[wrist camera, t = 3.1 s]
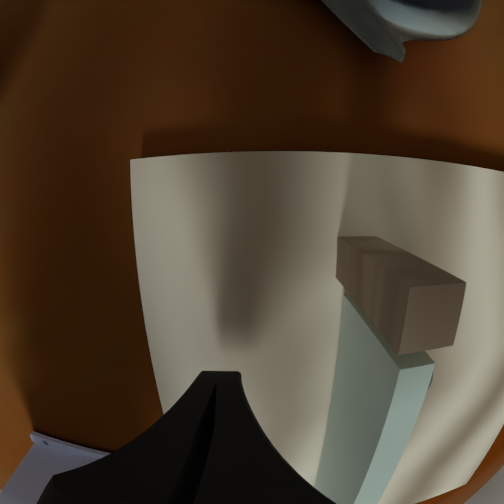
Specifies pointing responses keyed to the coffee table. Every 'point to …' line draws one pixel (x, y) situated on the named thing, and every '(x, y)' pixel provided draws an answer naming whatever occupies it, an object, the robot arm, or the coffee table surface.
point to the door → (369, 410)
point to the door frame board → (328, 290)
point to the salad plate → (404, 21)
